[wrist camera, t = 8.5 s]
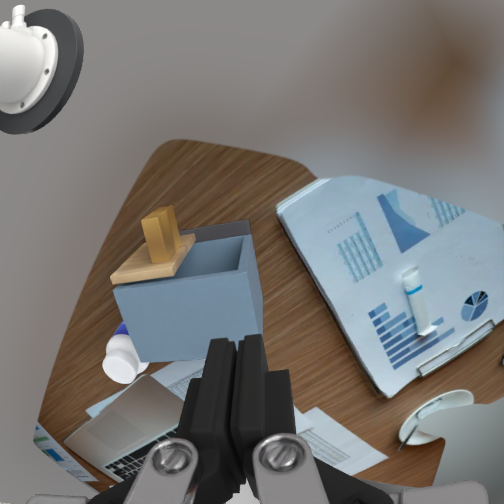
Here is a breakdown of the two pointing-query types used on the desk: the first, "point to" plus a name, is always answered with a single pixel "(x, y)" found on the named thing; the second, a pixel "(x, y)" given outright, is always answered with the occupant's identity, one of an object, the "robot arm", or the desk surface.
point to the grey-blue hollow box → (197, 297)
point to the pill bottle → (122, 357)
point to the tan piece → (156, 249)
